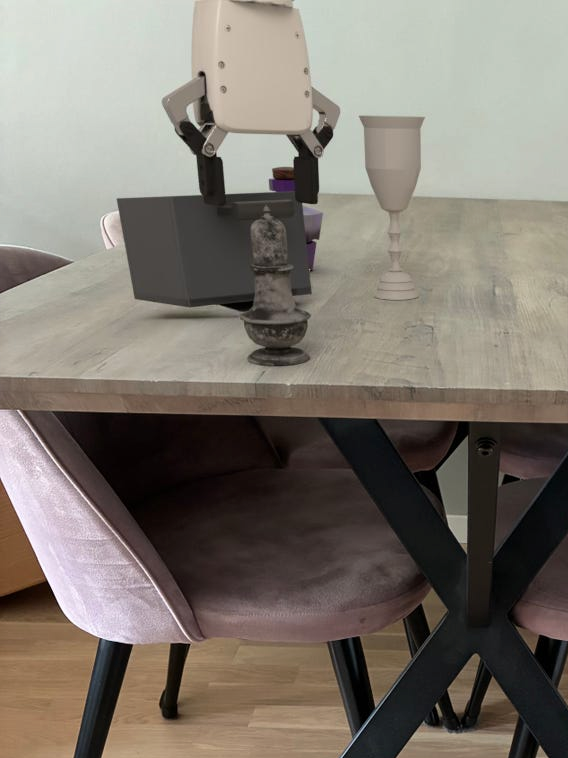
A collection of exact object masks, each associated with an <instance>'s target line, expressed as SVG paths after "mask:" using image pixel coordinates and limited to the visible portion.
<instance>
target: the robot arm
mask: <svg viewBox="0 0 568 758" xmlns="http://www.w3.org/2000/svg"><path fill="white" fill-rule="evenodd" d="M294 1H295V0H195V1H194V6H193V15H192V29H191V57H190V58H191V62H190V63H191V80H190V81H188V82H186V83H185V84H183V85H181V86H180V87H178V88H176V89H175V90H174V91H172V92H170V93H168V94H167V95H165V96H164V97H163V98H161V106H162V107H163V109H164V111H165V113H166V115H167V117H168V119H169V121H170V122H171V124H172V125H173V127H174V132H175V134H176V135H177V136H178V137H179V138H180V139H181V141H183V143H185V145H186V146H187V147H188V149H189V150H190V152H191V154H193V155H194V156H196V168H197V179H198V189H199V193H200V195H203V199H204V202H205V204H209V205H214V206H224V205H225V204H226V195H225V194H226V185H225V183H226V182H225V173H224V161H223V158H222V157H221V156H218V154H217V152H218V150H219V148H220V147H221V145H222V144H223V142H224V140H225V139H226V137H227V135H228V134H229V133H231V134H246V135H248V134H249V135H280V136H281V135H283V136H286V137H287V138H288V141H290V143H291V145H292V146H293V147H294V149H295V150H296V151H297V155H298V156H295V155H294V156H293V162H292V163H293V167H294V185H295V199H296V201H298V202H300V203H302V204H309V205H317V204H318V203H319V192H320V170H319V169H320V168H319V167H320V166H319V159H321V158H322V157H323V156H324V150H325V149H326V148H327V146H328V145H329V143H330V142H331V141H332V139H333V137H334V130H335V129H336V126H337V124H338V121H339V118H340V116H341V108H340V106H339V105H338V104H337V103H335V102H334V101H333V100H331V99H329V98H328V97H327V96H325V95H324V94H323V93H321V92H320V91H318V90H317V89H316V88H314V87H313V86H312V77H311V67H310V60H309V53H308V47H307V46H308V45H307V40H306V35H305V30H304V25H303V20H302V17H301V13H300V9H299V8H296V7H294ZM191 104H192V108H193V115H194V120H195V123H196V124H197V126H199V128H197V126H196V125H195V124H194V123H193V122H191V120H190V118H189V114H188V112H187V108H188V106H189V105H191ZM314 110H315V111H316V112H317V113H318V116H319V118H318V121H317V125H316V126H315V127H314V128H313V130H312V126H313V120H314V119H313V116H314V114H313V113H314V112H313V111H314Z"/></svg>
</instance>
